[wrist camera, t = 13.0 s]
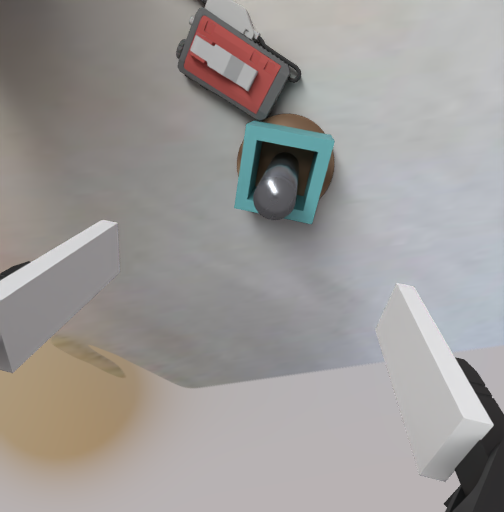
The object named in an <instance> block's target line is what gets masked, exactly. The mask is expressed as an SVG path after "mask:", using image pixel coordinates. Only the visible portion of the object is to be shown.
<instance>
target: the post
mask: <svg viewBox="0 0 504 512" xmlns="http://www.w3.org/2000/svg"><path fill="white" fill-rule="evenodd" d="M298 174H299V163H298V160H297V158H296V157H295V156H294V155H293V154H291V153H288V152H282V153H279V154H277V155H276V156H274V157H273V159H272V161H271V162H270V164H269V166H268V168H267V170H266V171H265V173H264V175H263V177H262V179H261V180H260V182H259V184H258V186H257V188H256V189H255V192H254V195H253V202H254V206H255V208H256V210H257V211H258V213H259V214H260V215H262V216H263V217H265V218H267V219H271V220H279V219H282V218H285V217H286V216H288V215H289V214H290V213H291V212H292V211H293V209H294V207H295V203H296V194H297V184H298Z"/></svg>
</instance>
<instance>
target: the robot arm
mask: <svg viewBox="0 0 504 512" xmlns="http://www.w3.org/2000/svg"><path fill="white" fill-rule="evenodd" d="M119 273H120V259H119V239H118V223H116V222H111V221H107V220H101V221H99V222H97V223H96V224H94V225H92V226H91V227H89V228H87V229H86V230H84V231H82V232H81V233H79V234H77V235H76V236H74V237H72V238H71V239H69V240H67V241H66V242H64V243H62V244H61V245H59V246H57V247H56V248H54V249H52V250H51V251H49V252H47V253H46V254H44V255H42V256H41V257H39V258H37V259H36V260H34V261H32V262H29V261H28V262H25V263H22V264H19V265H16V266H13V267H11V268H9V269H8V270H6V271H4V272H2V273H1V274H0V370H3V371H7V372H11V373H13V372H14V371H15V370H16V369H17V368H19V367H20V366H21V365H22V364H23V363H24V362H25V361H26V360H27V359H28V358H29V357H30V356H31V355H32V354H33V353H35V352H36V351H37V350H38V349H39V348H40V347H41V346H42V345H43V344H44V343H45V342H46V341H47V340H48V339H49V338H51V337H52V336H53V335H54V334H55V333H56V332H57V331H58V330H59V329H60V328H61V327H62V326H63V325H64V324H65V323H66V322H68V321H69V320H70V319H71V318H72V317H73V316H74V315H75V314H76V313H77V312H78V311H79V310H80V309H81V308H82V307H84V306H85V305H86V304H87V303H88V302H89V301H90V300H91V299H92V298H93V297H94V296H95V295H96V294H97V293H98V292H99V291H101V290H102V289H103V288H104V287H105V286H106V285H107V284H108V283H109V282H110V281H111V280H112V279H113V278H114V277H115V276H117V275H118V274H119ZM375 330H376V334H377V337H378V340H379V344H380V347H381V350H382V353H383V357H384V360H385V363H386V367H387V370H388V373H389V377H390V380H391V383H392V386H393V390H394V393H395V396H396V400H397V403H398V406H399V409H400V412H401V416H402V419H403V423H404V426H405V429H406V433H407V436H408V439H409V443H410V446H411V449H412V452H413V456H414V459H415V462H416V466H417V469H418V472H419V475H420V476H424V477H428V478H432V479H436V480H440V481H446V480H447V479H448V478H449V477H450V476H451V475H452V473H453V472H454V471H456V474H457V476H458V479H459V481H460V484H461V485H460V486H459V487H458V489H457V490H456V491H455V492H454V493H453V494H452V495H451V496H450V497H449V498H448V500H447V501H446V502H445V503H444V505H445V506H446V507H447V509H446V511H445V512H504V414H503V412H502V411H501V409H500V408H499V406H498V404H497V403H496V401H495V400H494V398H492V395H491V393H490V392H489V390H488V388H487V387H485V384H484V382H483V381H482V379H481V377H480V376H479V374H478V373H477V371H475V369H474V368H473V367H471V365H469V364H468V363H467V362H466V361H465V360H464V359H460V358H456V357H454V355H453V354H452V352H451V350H450V348H449V347H448V345H447V343H446V341H445V340H444V338H443V336H442V334H441V333H440V331H439V329H438V328H437V326H436V324H435V322H434V321H433V319H432V317H431V315H430V314H429V312H428V310H427V309H426V307H425V305H424V303H423V302H422V300H421V298H420V296H419V295H418V293H417V291H416V289H415V288H414V287H413V286H409V285H404V284H400V283H396V285H395V287H394V290H393V292H392V294H391V296H390V298H389V301H388V303H387V305H386V307H385V309H384V311H383V314H382V316H381V318H380V320H379V322H378V325H377V327H376V329H375Z"/></svg>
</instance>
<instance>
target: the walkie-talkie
mask: <svg viewBox="0 0 504 512" xmlns="http://www.w3.org/2000/svg"><path fill="white" fill-rule="evenodd" d="M201 1H202V2H204V3H205V4H206V5H205V8H199V9H198V11H197V13H196V15H195V17H194V16H192V17H191V18H190V21H189V24H190V25H192V26H191V28H190V31H189V34H188V36H187V39H186V40H185V39H183V40H182V41H181V42H180V43H179V45H178V47H177V51H176V56H177V58H178V59H179V62H178V68H179V70H180V72H182V73H184V74H185V76H186V77H188V78H189V79H191V80H195V81H196V82H198V83H199V84H200V86H202V87H204V88H205V89H207V90H210V91H212V92H213V93H216V94H217V95H220V96H221V98H224V99H225V100H228V101H229V103H232V104H233V105H234V106H237V108H240V109H241V110H242V111H245V113H248V114H249V115H250V116H253V118H254V119H255V118H256V119H257V121H258V120H263V119H266V118H268V116H269V114H270V112H271V110H272V108H273V106H274V105H275V103H276V101H277V99H278V97H279V95H280V93H281V92H282V90H283V88H284V86H285V84H286V82H287V80H288V81H290V82H293V83H295V82H297V81H298V80H299V79H300V77H301V71H300V69H299V68H298V66H297V65H295V64H294V63H292V62H291V61H289V60H288V59H286V58H285V57H283V56H282V55H280V54H279V53H277V52H276V51H274V50H273V49H271V48H270V47H269V46H267V45H266V44H265V42H264V40H263V39H262V38H261V37H260V33H258V32H257V31H255V30H254V28H253V25H252V22H251V19H250V16H249V14H248V12H247V10H246V9H245V8H244V7H243V6H241V5H240V4H238V3H237V2H235V1H234V0H201ZM255 40H257V41H258V40H259V41H260V43H261V45H262V46H263V47H264V48H265V49H264V48H263V47H262V46H259V45H258V44H257V43H255ZM272 54H273V55H272ZM281 60H282V61H281ZM285 63H286V64H285ZM289 66H291V67H292V68H294V69H295V70H296V71H297V73H298V76H297V77H296V78H295V79H293V78H290V75H291V74H290V69H289Z"/></svg>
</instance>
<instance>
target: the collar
mask: <svg viewBox="0 0 504 512" xmlns="http://www.w3.org/2000/svg"><path fill="white" fill-rule="evenodd" d="M262 141H265V142H270V143H275V144H280V145H285V146H290V147H295V148H301V149H306V150H311V151H315V152H314V156H313V160H312V164H311V168H310V173H309V177H308V181H307V185H306V189H305V193H304V196H300V195H296V203H295V207H294V209H293V211H292V212H291V213H290V214H289V215H288V216H286V217H285V218H284V219H289V220H294V221H298V222H303V223H308V224H312V222H313V219H314V215H315V211H316V208H317V204H318V200H319V197H320V193H321V189H322V186H323V182H324V178H325V175H326V171H327V167H328V164H329V160H330V157H331V153H332V149H333V146H334V142H335V141H334V139H333V138H332V136H331V135H329V134H323V133H318V132H313V131H308V130H302V129H297V128H292V127H287V126H282V125H276V124H271V123H266V122H261V121H252V122H250V123H247V124H246V129H245V136H244V143H243V150H242V157H241V164H240V171H239V178H238V185H237V192H236V199H235V206H234V208H236V209H241V210H246V211H251V212H256V213H258V211H257V210H256V208H255V206H254V202H253V195H254V192H255V189H256V188H257V187H256V186H255V182H256V176H257V170H258V165H259V159H260V153H261V147H262Z"/></svg>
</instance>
